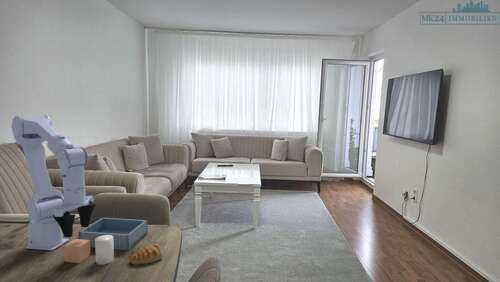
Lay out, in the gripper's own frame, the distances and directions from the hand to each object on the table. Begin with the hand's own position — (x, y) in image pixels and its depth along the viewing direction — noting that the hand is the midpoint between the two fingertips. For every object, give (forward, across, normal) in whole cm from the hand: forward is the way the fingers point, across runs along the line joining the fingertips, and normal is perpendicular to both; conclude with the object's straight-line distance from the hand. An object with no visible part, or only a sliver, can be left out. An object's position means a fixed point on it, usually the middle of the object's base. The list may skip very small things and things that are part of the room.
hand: (76, 231), depth 93 cm
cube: (+9, 0, 0) cm, 9 cm away
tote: (+8, +14, -4) cm, 17 cm away
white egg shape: (+9, 0, -9) cm, 12 cm away
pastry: (+9, +3, -21) cm, 23 cm away
